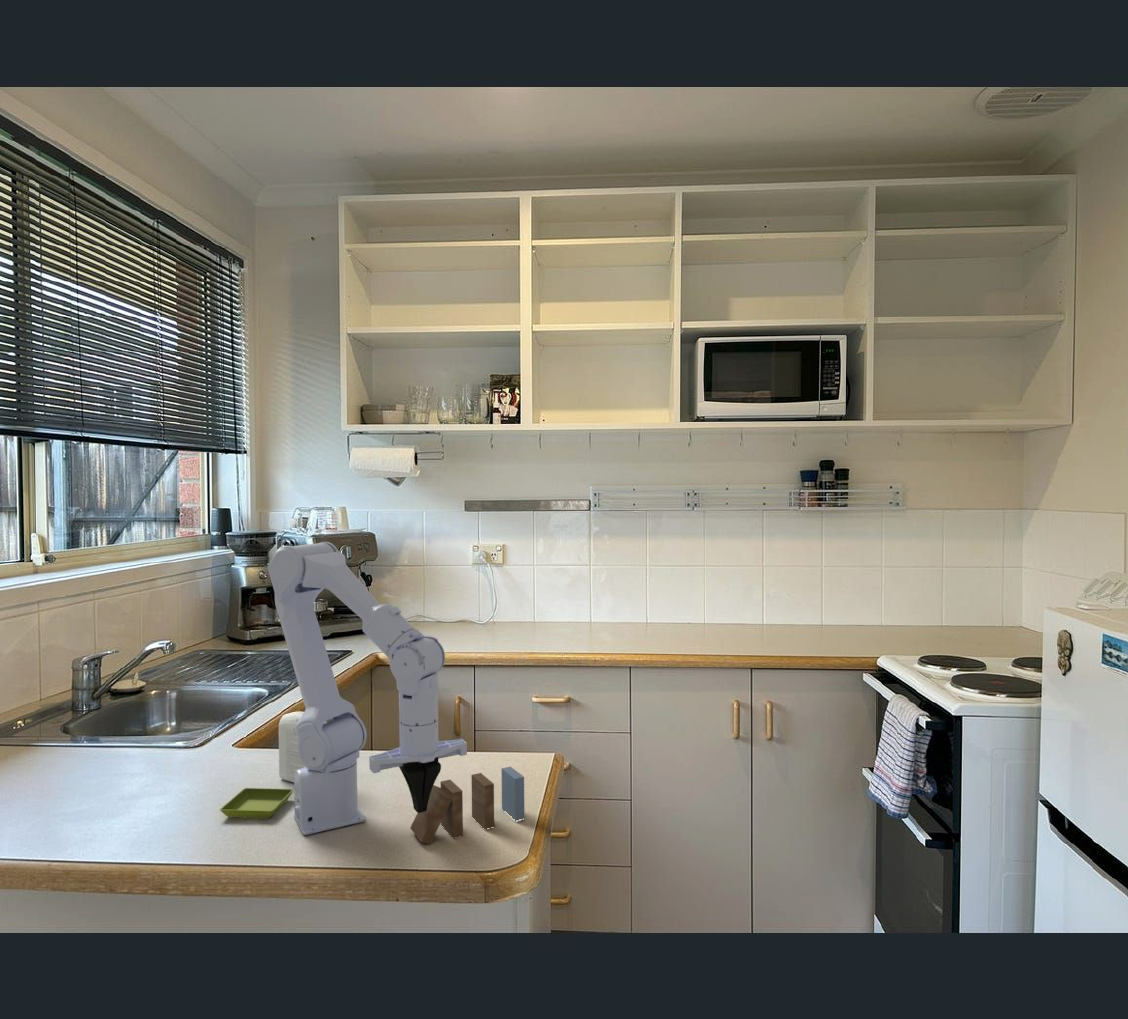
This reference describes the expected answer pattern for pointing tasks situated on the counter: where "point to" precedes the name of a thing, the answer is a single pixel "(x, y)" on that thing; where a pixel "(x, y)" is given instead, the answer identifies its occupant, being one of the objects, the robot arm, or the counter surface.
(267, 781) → the counter surface
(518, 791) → the end domino
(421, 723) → the robot arm
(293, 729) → the white rounded tombstone
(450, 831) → the domino
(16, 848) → the counter surface
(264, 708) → the counter surface
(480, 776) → the domino
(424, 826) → the domino
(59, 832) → the counter surface
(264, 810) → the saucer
